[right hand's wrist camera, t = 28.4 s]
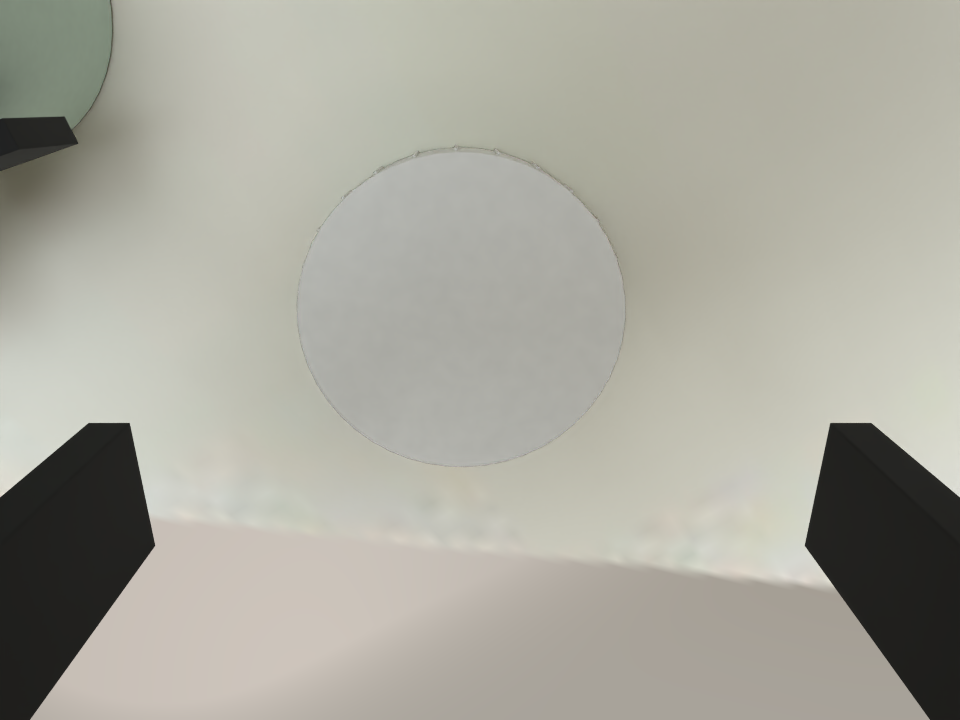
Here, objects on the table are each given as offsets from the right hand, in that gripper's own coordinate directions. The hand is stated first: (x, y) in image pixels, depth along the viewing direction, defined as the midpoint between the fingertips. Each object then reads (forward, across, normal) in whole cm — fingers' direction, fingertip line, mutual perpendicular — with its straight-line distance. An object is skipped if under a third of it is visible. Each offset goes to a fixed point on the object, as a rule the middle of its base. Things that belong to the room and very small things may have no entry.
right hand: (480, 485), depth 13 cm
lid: (+12, +1, 0) cm, 12 cm away
